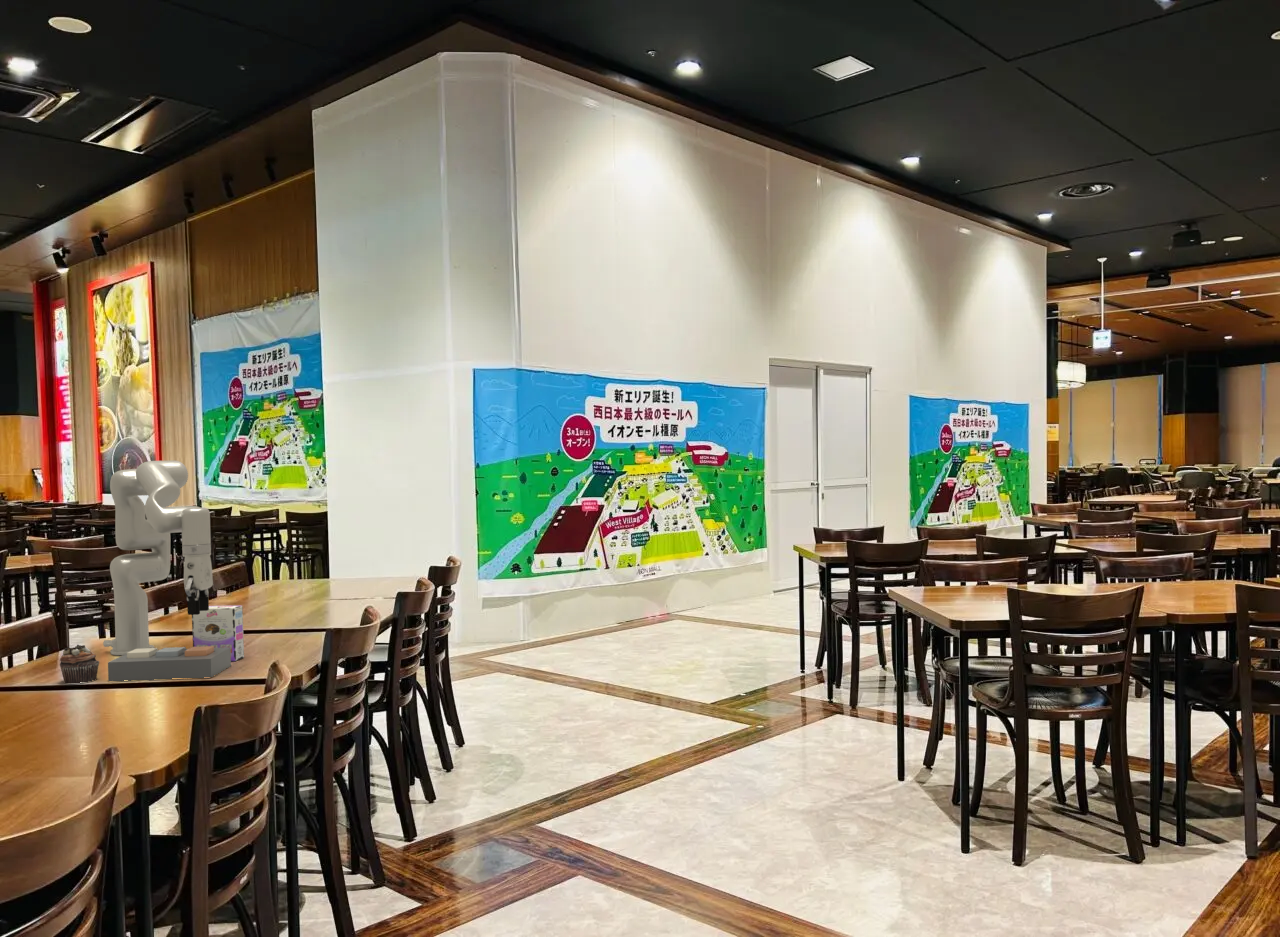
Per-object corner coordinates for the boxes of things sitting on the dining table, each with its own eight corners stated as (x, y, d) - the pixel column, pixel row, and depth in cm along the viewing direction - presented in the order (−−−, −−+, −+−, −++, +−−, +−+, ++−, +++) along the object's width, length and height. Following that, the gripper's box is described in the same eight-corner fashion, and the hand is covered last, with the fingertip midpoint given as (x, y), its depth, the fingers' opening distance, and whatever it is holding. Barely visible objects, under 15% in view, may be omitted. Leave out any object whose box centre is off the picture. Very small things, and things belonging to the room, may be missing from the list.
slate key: (156, 664, 278) (155, 651, 278) (164, 659, 284) (164, 647, 284) (177, 663, 279) (177, 651, 279) (186, 659, 285) (185, 647, 285)
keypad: (108, 681, 272) (107, 662, 272) (133, 669, 288) (133, 650, 288) (211, 678, 274) (210, 658, 274) (231, 665, 290) (230, 647, 290)
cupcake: (82, 685, 269) (81, 649, 269) (52, 684, 271) (51, 648, 271) (107, 677, 279) (106, 642, 278) (78, 676, 280) (77, 641, 280)
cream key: (127, 665, 278) (126, 652, 278) (136, 660, 284) (136, 648, 284) (148, 664, 278) (148, 652, 278) (157, 659, 284) (157, 648, 284)
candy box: (245, 657, 302) (243, 604, 302) (235, 661, 296) (233, 607, 296) (202, 657, 304) (201, 605, 303) (192, 661, 298) (190, 608, 297)
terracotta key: (185, 663, 279) (184, 651, 279) (193, 658, 285) (192, 646, 285) (206, 662, 279) (206, 650, 279) (214, 658, 285) (213, 646, 285)
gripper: (198, 553, 273) (200, 617, 273) (220, 547, 290) (222, 607, 291) (171, 553, 273) (172, 618, 273) (194, 547, 290) (196, 608, 290)
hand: (198, 611), depth 282 cm, fingers open, 6 cm apart
